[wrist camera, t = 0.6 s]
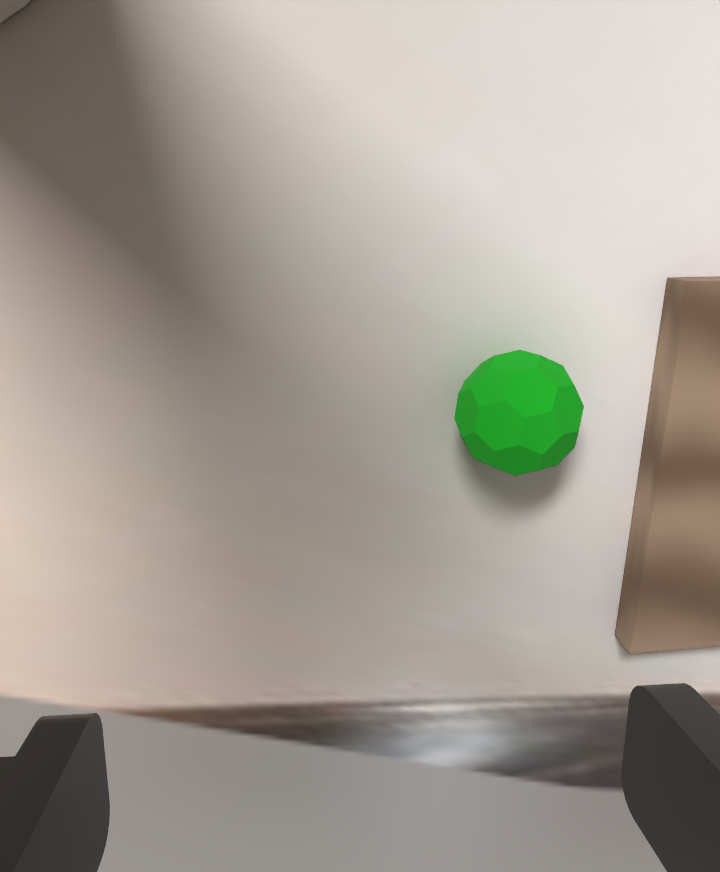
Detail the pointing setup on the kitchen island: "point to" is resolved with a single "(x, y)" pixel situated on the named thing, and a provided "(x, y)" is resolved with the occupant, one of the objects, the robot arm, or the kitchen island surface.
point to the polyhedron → (519, 412)
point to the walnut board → (678, 484)
